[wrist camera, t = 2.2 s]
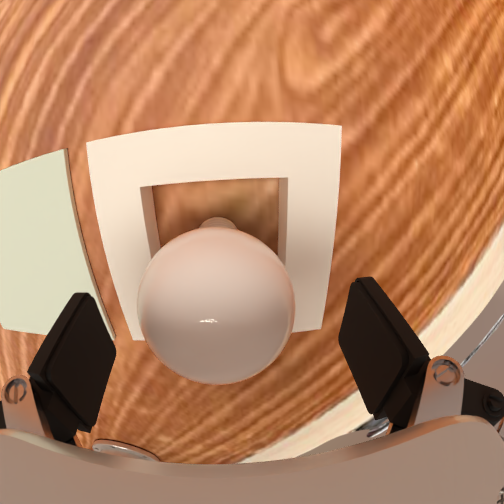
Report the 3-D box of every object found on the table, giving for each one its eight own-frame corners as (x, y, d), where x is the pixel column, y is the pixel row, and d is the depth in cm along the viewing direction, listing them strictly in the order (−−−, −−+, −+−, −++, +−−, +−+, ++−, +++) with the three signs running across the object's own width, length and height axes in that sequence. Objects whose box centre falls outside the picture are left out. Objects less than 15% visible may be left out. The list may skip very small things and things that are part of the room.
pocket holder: (311, 308, 21) (320, 329, 19) (140, 319, 20) (133, 340, 18) (325, 125, 15) (341, 125, 13) (103, 139, 14) (86, 142, 12)
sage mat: (115, 336, 21) (114, 340, 20) (5, 326, 20) (3, 328, 19) (67, 148, 14) (63, 149, 13) (-42, 190, 13) (-45, 191, 12)
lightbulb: (170, 271, 19) (135, 406, 9) (171, 181, 16) (100, 272, 6) (258, 277, 20) (290, 412, 10) (272, 190, 17) (341, 287, 7)
